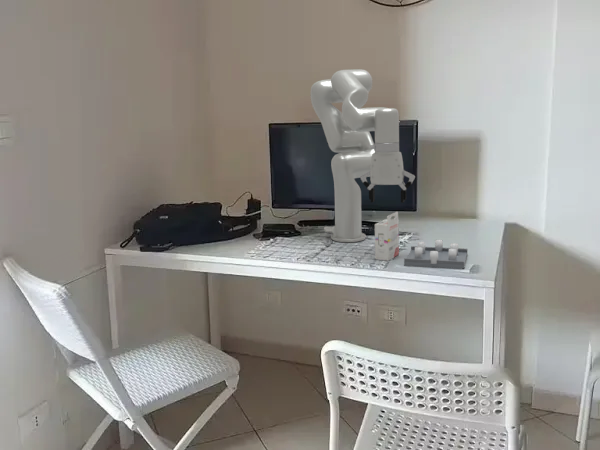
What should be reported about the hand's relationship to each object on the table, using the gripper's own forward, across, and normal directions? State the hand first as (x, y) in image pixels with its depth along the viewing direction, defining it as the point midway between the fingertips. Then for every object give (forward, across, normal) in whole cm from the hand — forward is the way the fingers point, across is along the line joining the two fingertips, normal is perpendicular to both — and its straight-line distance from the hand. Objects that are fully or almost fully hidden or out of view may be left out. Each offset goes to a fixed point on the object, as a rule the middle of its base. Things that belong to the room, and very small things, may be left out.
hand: (387, 202), depth 210 cm
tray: (+18, +15, 0) cm, 24 cm away
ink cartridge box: (+18, -1, +1) cm, 19 cm away
